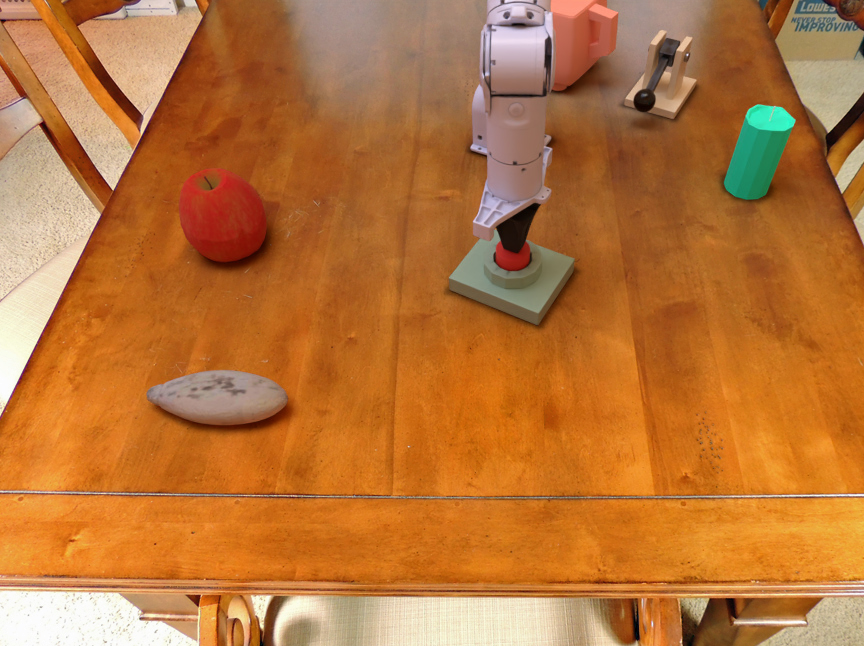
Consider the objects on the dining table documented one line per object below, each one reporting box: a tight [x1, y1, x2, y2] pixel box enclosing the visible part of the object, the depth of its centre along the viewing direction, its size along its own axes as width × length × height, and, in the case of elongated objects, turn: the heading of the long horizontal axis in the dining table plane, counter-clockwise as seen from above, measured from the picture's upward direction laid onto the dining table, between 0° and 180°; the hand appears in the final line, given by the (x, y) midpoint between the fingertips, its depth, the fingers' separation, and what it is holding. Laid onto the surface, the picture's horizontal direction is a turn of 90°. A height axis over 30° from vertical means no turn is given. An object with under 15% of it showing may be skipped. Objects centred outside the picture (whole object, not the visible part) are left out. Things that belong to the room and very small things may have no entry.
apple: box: [178, 167, 268, 263], centre depth 84 cm, size 10×10×10 cm
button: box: [496, 241, 530, 271], centre depth 80 cm, size 4×4×2 cm
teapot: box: [551, 0, 619, 92], centre depth 106 cm, size 22×13×14 cm, turn 56°
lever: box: [633, 37, 681, 113], centre depth 100 cm, size 12×3×3 cm, turn 151°
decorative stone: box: [146, 369, 289, 426], centre depth 72 cm, size 6×16×3 cm, turn 88°
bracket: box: [623, 29, 698, 120], centre depth 103 cm, size 10×8×9 cm
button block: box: [448, 228, 576, 326], centre depth 82 cm, size 12×10×4 cm
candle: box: [723, 104, 797, 201], centre depth 89 cm, size 6×6×12 cm
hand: (512, 247), depth 79 cm, fingers closed
